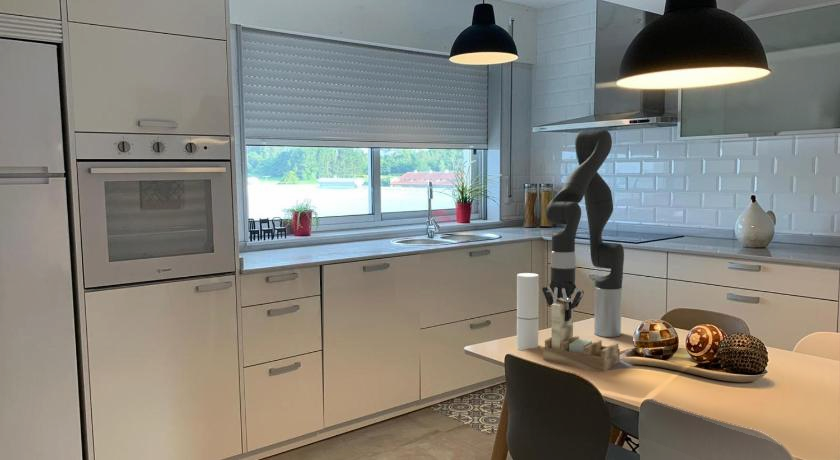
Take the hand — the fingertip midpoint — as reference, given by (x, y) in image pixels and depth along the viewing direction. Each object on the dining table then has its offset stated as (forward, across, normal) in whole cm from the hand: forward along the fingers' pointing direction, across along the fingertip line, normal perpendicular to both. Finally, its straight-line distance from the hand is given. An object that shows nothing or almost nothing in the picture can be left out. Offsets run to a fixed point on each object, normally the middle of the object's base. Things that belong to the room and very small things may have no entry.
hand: (562, 319), depth 204 cm
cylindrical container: (+13, +15, -5) cm, 21 cm away
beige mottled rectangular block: (+9, 0, 0) cm, 9 cm away
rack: (+13, -6, 0) cm, 14 cm away
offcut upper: (+9, -6, 0) cm, 11 cm away
